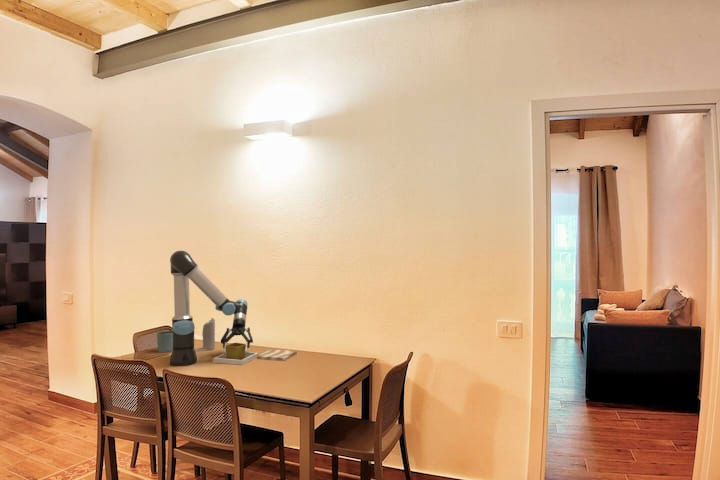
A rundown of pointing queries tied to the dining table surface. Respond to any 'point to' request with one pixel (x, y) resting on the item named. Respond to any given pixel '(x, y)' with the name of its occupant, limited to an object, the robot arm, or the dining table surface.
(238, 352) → the flower pot
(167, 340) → the drinking glass
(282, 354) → the slatted trivet
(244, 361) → the grey square frame
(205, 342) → the grey upright panel
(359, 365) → the dining table surface
